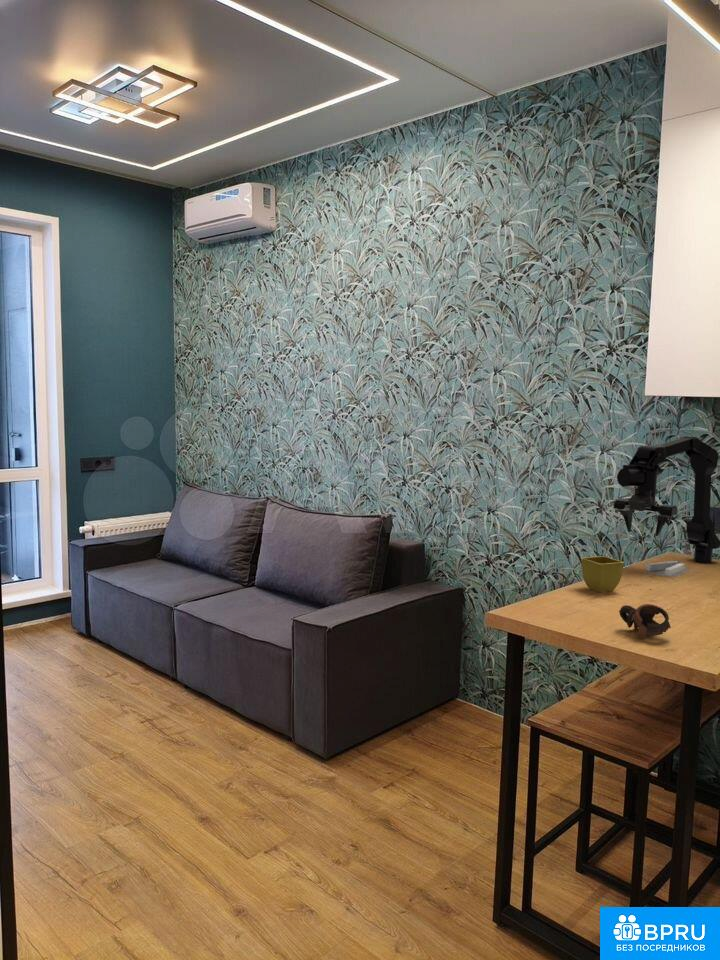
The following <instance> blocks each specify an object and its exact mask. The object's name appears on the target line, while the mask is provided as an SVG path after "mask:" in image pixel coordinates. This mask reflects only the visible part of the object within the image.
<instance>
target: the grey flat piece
mask: <svg viewBox="0 0 720 960" xmlns="http://www.w3.org/2000/svg"><path fill="white" fill-rule="evenodd" d="M685 565H686V563H682V562H680V563H679V564H676V565H674V566H671V567H669V568H666V569H664V570H655V571H648V570H645V571H644V573H646V574H651V575H658V576H660V577H661V576H662V577H668V578H675V577H678V576H680V575H682V574H684V573H687V572H689V571H691V570H692V569H690V568H685Z"/></svg>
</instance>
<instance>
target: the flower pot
mask: <svg viewBox="0 0 720 960" xmlns="http://www.w3.org/2000/svg"><path fill="white" fill-rule="evenodd" d="M580 562H581V563H580V564H581V573H582V578H583V580H584V583H585V585H586V587H587V588H588V589H589V590H593V591H595V592H597V593H607V592H613V591H615V590H616V588H617V587H618V585H620V584H619V583H620V582H621V579H622V576H623V572H624V570H623V569H624V564H625V561H622V560H619V559H614V558H611V557H608V556H605V555H603V556H602V555H601V556H600V555H599V556H588V557H587V556H586V557H580Z"/></svg>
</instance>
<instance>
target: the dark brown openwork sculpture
mask: <svg viewBox="0 0 720 960" xmlns="http://www.w3.org/2000/svg"><path fill="white" fill-rule="evenodd" d="M618 612H619V615H620V618H621V619H622V620H623V622H625V624H626V625H627V627H628V628H629V629H630V628H631V627H633V629H634V628H635V629H634V630H636V629H638V628H639V629H638V631H637V632H636V637H637V638H639V639H640V640H644V639H645V638H646V637H655V636H660V635H664V633H666V632H667V631H668V630H669V629H671V627H672V626H671V623H670V618H669V614H668V613H667V611H666V610H665V609H664V608H663V607H661V606H657V605H655V604H650V603H647V604H642V605H639V606H638V607H637V608H635V607H633V606H631V605H626V604H625V605H622V606H621V607H620V609H619V611H618ZM660 614H661V615H662V616H663V618H664V621H663V622H661V623H659V622H658V621H656V620H655V619H654V617H655V616H656V615H660Z"/></svg>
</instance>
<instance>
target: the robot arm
mask: <svg viewBox="0 0 720 960" xmlns="http://www.w3.org/2000/svg"><path fill="white" fill-rule="evenodd" d="M681 453H684V454H685V455H686V456H687V457H688V459H689V463H690V467H691V469H692V471H693V473H694V489H693V490H694V496H693V497H694V498H693V515H692V517H691V519H690V520H687V521H686V523H685V524H686V528H685V529H686V530H685V533H686V536H687V540H688V544H689V545H694V549H693V561H694V563H698V564H712V562H713V553H714V551H713V550H716V549H719V548H720V538H719V536H718V535H717V534H716V530H715V529H716V527H715V523H714V522H713V520H712V518H711V494H712V493H711V492H712V474H713V473H714V471H715V470H716V468H717V467H718V461H719V452H718V451H717V450H716V448H713V447H712V446H710V445H709V444H706V443H705V442H703V441H702V440H700V438H698V437H696V436H691V435H685V436H682V437H680V438H678V439H674V440H671V441H669V442H665V443H662V444H661V443H660V444H657V445H654V444H652V445H651V444H650V445H649V444H648V445H641V446H639V447H638V448H637V451H635V453H634V455H633V456H632V458H631V460H630V462H629V464H623V465H622V468H621V469H620V470H619V471H618V473H617V474H616V480H617V483H618V485H620V487H624V488H625V487H636V488H635V490H634V494H633V495H632V496H630V498H629V499H624V498H619V499H615V500H614V502H613V506H612V509H615V510H617V512H619V513H620V514H621V515H622V517H623V519H624V522H625V523H624V524H625V525H626V526H625V527H626V530H627V532H628V533H630V532H631V531H632V525H633V524H632V523H633V513H634V512H633V511H638V512H645V511H648V512H649V511H650V512H657V513H659V514H658V515H656V518H657V519H656V520H657V522H656V526H655V527H656V530H655V536H656V537H659V535H660V533H661V531H662V529H663V527H664V526H665V523H666V522H667V521H668V520H669V518H672V517H674V516H677V515H678V513H679V512H678V510H679V509H678V507H677V506H676V505H673V504H665V503H664V504H662V505H661V504H660V505H657V501H656V496H657V495H656V493H658V488H657V482H658V481H657V480H658V472H659V473H661V472H663V468H662V467H660V464H662V463H664V462H665V461H666V459H667V458H669V457H672V456H675V455H678V454H681Z"/></svg>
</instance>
